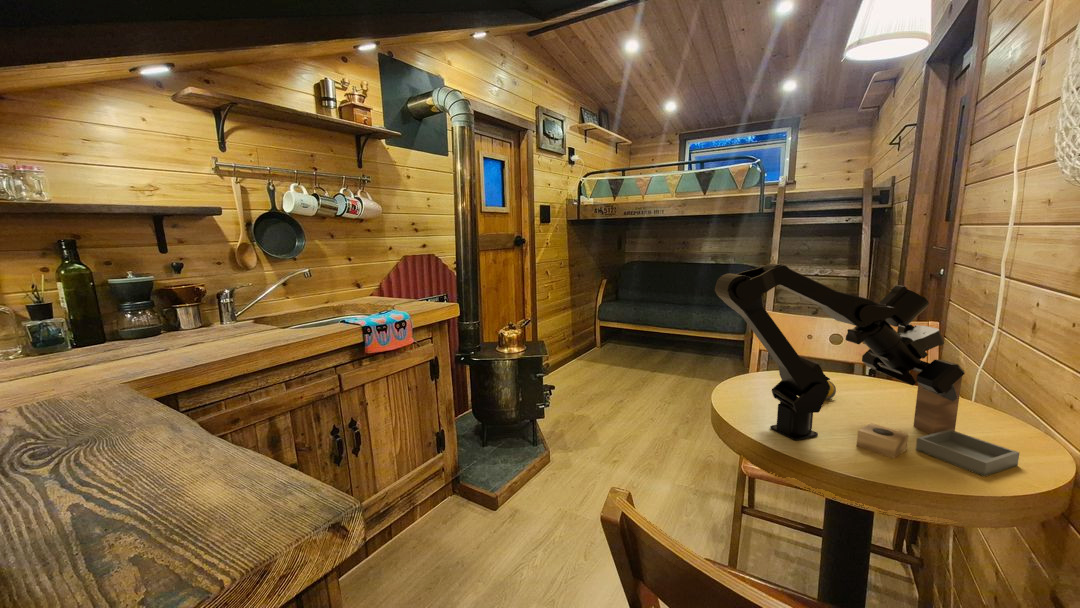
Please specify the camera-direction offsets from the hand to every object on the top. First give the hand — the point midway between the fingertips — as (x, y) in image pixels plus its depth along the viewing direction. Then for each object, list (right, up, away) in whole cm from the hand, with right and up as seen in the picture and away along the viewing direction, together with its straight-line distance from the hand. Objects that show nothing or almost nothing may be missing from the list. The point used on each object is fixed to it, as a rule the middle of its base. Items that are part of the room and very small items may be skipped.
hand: (933, 391), depth 87 cm
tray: (-3, -10, -10) cm, 15 cm away
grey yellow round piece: (-9, -6, +20) cm, 23 cm away
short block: (-16, -10, -5) cm, 19 cm away
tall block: (+1, -9, +1) cm, 9 cm away
